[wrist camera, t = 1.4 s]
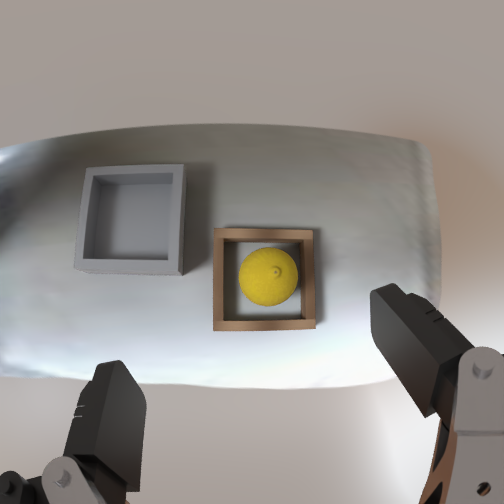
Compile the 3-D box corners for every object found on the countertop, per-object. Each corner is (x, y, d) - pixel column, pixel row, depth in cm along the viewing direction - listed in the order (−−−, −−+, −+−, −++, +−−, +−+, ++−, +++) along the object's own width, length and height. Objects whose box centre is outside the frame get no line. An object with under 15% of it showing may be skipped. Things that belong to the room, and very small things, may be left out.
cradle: (213, 329, 33) (213, 331, 31) (214, 232, 34) (213, 228, 32) (310, 327, 34) (315, 328, 32) (307, 234, 36) (312, 230, 34)
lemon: (234, 304, 33) (238, 302, 25) (239, 252, 34) (245, 235, 27) (285, 308, 34) (305, 308, 26) (289, 258, 35) (309, 243, 27)
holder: (88, 273, 32) (73, 268, 28) (98, 181, 34) (86, 167, 30) (182, 275, 33) (178, 270, 29) (186, 179, 35) (183, 164, 31)
